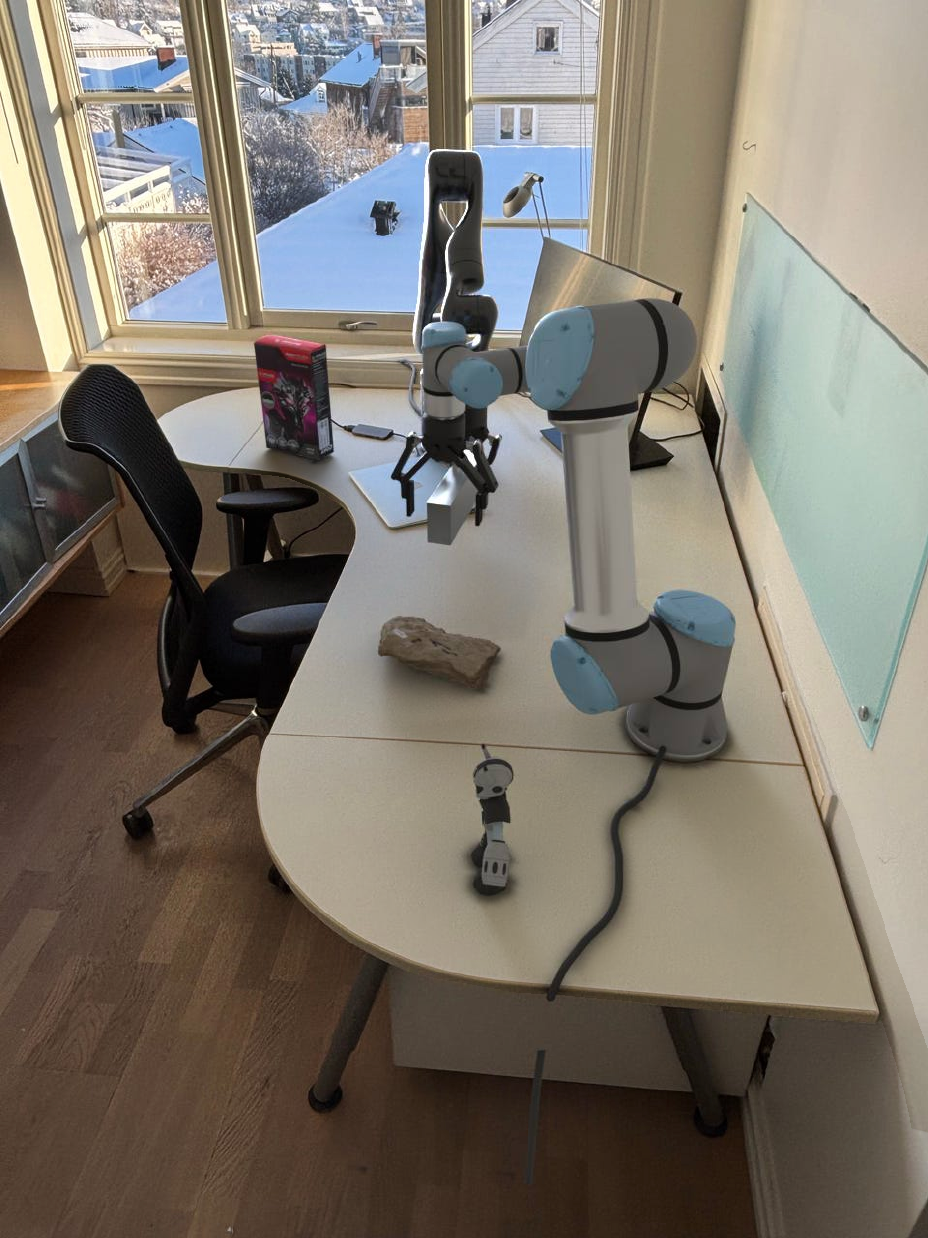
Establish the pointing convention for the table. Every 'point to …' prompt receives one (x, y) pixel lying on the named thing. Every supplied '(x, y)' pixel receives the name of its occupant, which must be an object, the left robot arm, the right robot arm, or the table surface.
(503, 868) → the robot
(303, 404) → the graphics card box
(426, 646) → the stone
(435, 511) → the bar
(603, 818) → the table surface
